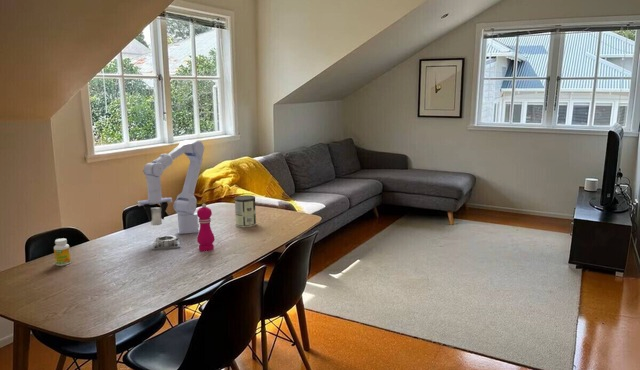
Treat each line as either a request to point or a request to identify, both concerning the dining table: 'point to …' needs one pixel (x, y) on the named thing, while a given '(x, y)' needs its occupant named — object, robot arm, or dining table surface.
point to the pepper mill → (205, 229)
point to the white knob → (156, 216)
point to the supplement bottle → (62, 252)
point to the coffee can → (245, 211)
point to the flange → (166, 242)
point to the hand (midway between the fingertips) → (156, 219)
